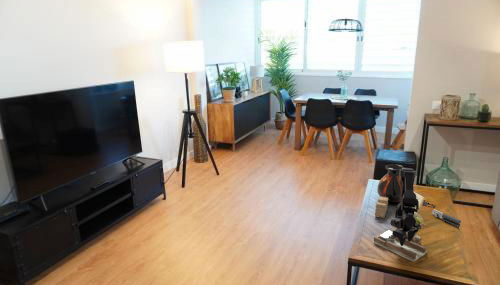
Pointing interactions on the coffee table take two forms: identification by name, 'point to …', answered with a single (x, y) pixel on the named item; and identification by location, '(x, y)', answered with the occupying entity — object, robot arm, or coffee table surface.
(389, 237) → the white rectangular block
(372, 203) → the coffee table surface
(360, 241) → the coffee table surface
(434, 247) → the coffee table surface
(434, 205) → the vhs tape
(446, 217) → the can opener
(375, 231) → the coffee table surface
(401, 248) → the jig
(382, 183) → the amphora vase
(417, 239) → the long tan block
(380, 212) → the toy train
